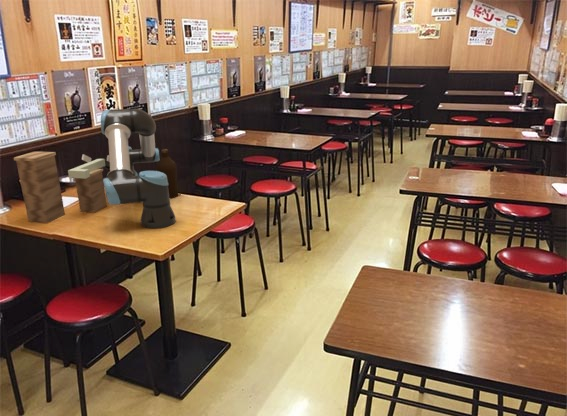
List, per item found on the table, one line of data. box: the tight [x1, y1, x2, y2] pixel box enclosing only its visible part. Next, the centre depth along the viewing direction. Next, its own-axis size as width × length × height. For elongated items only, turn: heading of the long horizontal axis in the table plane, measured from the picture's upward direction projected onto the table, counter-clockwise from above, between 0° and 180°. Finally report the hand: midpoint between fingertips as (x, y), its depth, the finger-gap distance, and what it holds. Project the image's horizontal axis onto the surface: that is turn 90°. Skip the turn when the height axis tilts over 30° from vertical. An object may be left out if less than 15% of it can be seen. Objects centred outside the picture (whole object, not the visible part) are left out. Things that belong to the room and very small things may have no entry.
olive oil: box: [155, 148, 179, 199], centre depth 241 cm, size 11×11×25 cm
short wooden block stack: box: [74, 168, 108, 213], centre depth 223 cm, size 9×11×19 cm
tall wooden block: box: [13, 151, 66, 224], centre depth 209 cm, size 11×13×30 cm
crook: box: [67, 158, 106, 179], centre depth 219 cm, size 24×8×3 cm, turn 168°
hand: (95, 157), depth 225 cm, fingers open, 13 cm apart
